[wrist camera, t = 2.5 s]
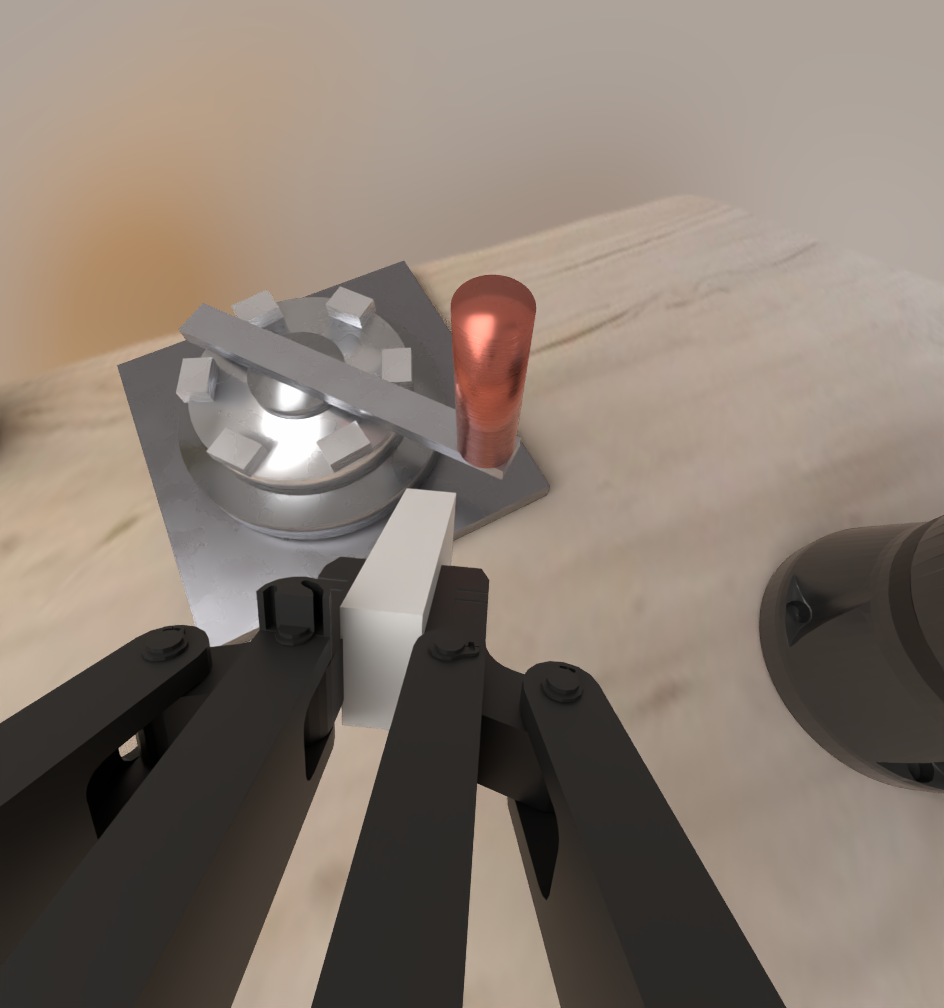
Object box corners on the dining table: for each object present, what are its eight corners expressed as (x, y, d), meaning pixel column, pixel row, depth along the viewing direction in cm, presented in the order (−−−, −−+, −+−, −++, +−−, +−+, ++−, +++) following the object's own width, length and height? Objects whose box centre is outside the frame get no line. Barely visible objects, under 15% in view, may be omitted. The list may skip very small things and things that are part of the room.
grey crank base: (405, 274, 45) (400, 237, 41) (546, 495, 36) (554, 470, 33) (129, 377, 40) (97, 345, 37) (215, 656, 32) (184, 648, 28)
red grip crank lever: (154, 440, 33) (-52, 252, 20) (280, 294, 38) (181, 68, 25) (455, 588, 29) (443, 474, 16) (551, 404, 35) (600, 204, 21)
